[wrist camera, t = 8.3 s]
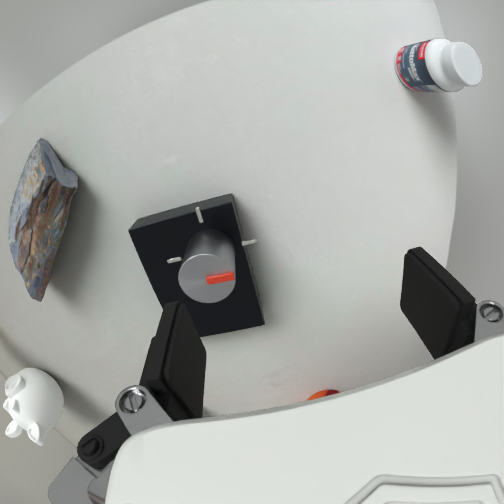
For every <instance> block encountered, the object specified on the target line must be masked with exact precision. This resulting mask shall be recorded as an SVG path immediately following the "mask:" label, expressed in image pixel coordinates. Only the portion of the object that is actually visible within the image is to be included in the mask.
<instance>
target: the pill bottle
mask: <svg viewBox="0 0 504 504" xmlns="http://www.w3.org/2000/svg"><path fill="white" fill-rule="evenodd" d="M394 65H395V70H396V73H397V75H398V77H399V79H400V80H401V81H402V83H403V84H404V85H405V86H407V87H408V88H409V89H411V90H414V91H418V92H457V91H459V90H461V89H463V88H464V86H476V85H478V84H479V83H480V81H481V78H482V66H481V62H480V59H479V57H478V55H477V54H476V52H475V51H474V50H473V49H472V48H471V47H470V46H469V45H468V44H466V43H463V42H455V43H451V42H450V41H448V40H445V39H432V40H428V41H424V42H420V43H416V44H412V45H408V46H405V47H402V48H401V49H399V50H398V52H397V53H396V55H395V60H394Z"/></svg>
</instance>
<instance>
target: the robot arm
mask: <svg viewBox="0 0 504 504" xmlns="http://www.w3.org/2000/svg"><path fill="white" fill-rule="evenodd" d="M400 306H401V310H402V312H403V313H404V314H405V316H406V317H407V319H408V320H409V322H410V323H411V325H412V326H413V328H414V329H415V330H416V332H417V333H418V335H419V336H420V338H421V339H422V341H423V343H424V344H425V346H426V347H427V349H428V350H429V352H430V353H431V355H432V357H433V358H434V360H433V361H430V362H428V363H426V364H423V365H421V366H418V367H416V368H413V369H411V370H408V371H405V372H403V373H400V374H397V375H394V376H392V377H389V378H386V379H383V380H380V381H377V382H374V383H371V384H368V385H364V386H361V387H358V388H354V389H351V390H348V391H344V392H340V393H337V394H333V395H329V396H325V397H321V398H317V399H313V400H309V401H304V402H300V403H295V404H290V405H285V406H280V407H275V408H269V409H263V410H257V411H251V412H244V413H237V414H230V415H222V416H214V417H204V418H202V412H203V396H204V382H205V369H206V350H205V347H204V345H203V343H202V341H201V339H200V337H199V334H198V332H197V330H196V328H195V326H194V323H193V321H192V319H191V317H190V314H189V312H188V310H187V307H186V305H185V304H181V303H180V302H179V301H176V302H171V303H166V304H165V306H164V309H163V312H162V316H161V319H160V322H159V326H158V329H157V333H156V336H154V337H153V338H152V340H151V344H150V347H149V351H148V354H147V358H146V361H145V365H144V368H143V372H142V376H141V380H140V383H139V385H133V386H130V387H128V388H126V389H124V390H123V391H122V392H120V394H119V395H118V397H117V399H116V401H115V408H116V411H117V412H116V413H114V414H113V415H112V416H110V417H109V418H107V419H106V420H105V421H103V422H102V423H101V424H99V425H98V426H97V427H95V428H94V429H93V430H91V431H90V432H88V433H87V434H86V435H84V436H83V437H82V438H81V440H80V441H79V443H78V447H77V453H78V456H77V458H74V457H72V459H71V460H70V461H69V462H68V464H67V465H66V466H65V467H64V469H63V470H62V471H61V472H60V473H59V475H58V476H57V477H56V479H55V480H54V481H53V482H52V483H51V485H50V487H49V489H48V497H49V499H50V501H51V503H52V504H504V308H503V307H502V306H501V305H500V304H499V303H497V302H495V301H490V300H488V301H487V300H486V301H482V302H481V303H479V304H478V305H477V304H476V303H475V298H474V297H473V296H472V295H471V294H470V293H469V292H468V291H467V290H466V289H465V288H464V287H463V286H462V285H461V284H460V283H459V282H458V281H457V280H456V279H455V278H454V277H453V276H452V275H451V274H450V273H449V272H448V271H447V270H446V269H445V268H444V267H443V266H442V265H440V264H439V263H438V262H437V261H436V260H435V259H434V258H433V257H432V256H431V255H430V254H428V253H427V252H426V251H425V250H424V249H423V248H422V247H416V248H413V249H409V250H408V252H407V254H405V256H404V270H403V281H402V292H401V301H400Z"/></svg>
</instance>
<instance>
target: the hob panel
mask: <svg viewBox="0 0 504 504" xmlns="http://www.w3.org/2000/svg"><path fill="white" fill-rule="evenodd" d="M205 229H216V230H219V231H222V232H224V233H225V234H227V235H228V236H229V237H230V239H231V240H232V242H233V244H234V247H235V286H234V288H233V290H232V292H231V293H230V294H229V295H228V296H227V297H226V298H224V299H223V300H221V301H218V302H214V303H203V302H199V301H196V300H194V299H192V298H190V297H189V296H188V295H186V294H185V292H184V291H183V290H182V288H181V286H180V284H179V279H178V275H179V270H180V267H181V264H182V261H183V258H184V255H185V252H186V248H187V245H188V243H189V240H190V239H191V237H192V236H193V235H194V234H196V233H197V232H199V231H201V230H205ZM128 231H129V233H130V236H131V238H132V241H133V243H134V246H135V248H136V251H137V253H138V255H139V258H140V260H141V262H142V265H143V267H144V269H145V272H146V274H147V276H148V278H149V281H150V283H151V285H152V287H153V289H154V291H155V294H156V296H157V298H158V300H159V302H160V304H161V306H162V308H163V309H164V306H165V304H166V303H171V302H176V301H179V302H180V303H181V304H185V305H186V307H187V310H188V312H189V314H190V317H191V319H192V321H193V323H194V326H195V328H196V330H197V332H198V334H199V337H204V336H210V335H216V334H221V333H226V332H232V331H237V330H242V329H247V328H252V327H256V326H261V325H265V322H264V316H263V309H262V305H261V301H260V297H259V294H258V290H257V286H256V282H255V278H254V275H253V271H252V267H251V263H250V260H249V256H248V252H247V248H246V245H249V244H253V243H257V238H256V239H251V240H247V241H244V237H243V233H242V229H241V226H240V222H239V218H238V214H237V210H236V207H235V203H234V199H233V195H232V194H227V195H223V196H219V197H215V198H211V199H208V200H204V201H200V202H196V203H192V204H189V205H185V206H181V207H178V208H174V209H171V210H167V211H164V212H160V213H157V214H153V215H150V216H147V217H143V218H140V219H137V221H136V222H135V223H134V224H133V225H132V226H131V228H130V229H129V230H128Z"/></svg>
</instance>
